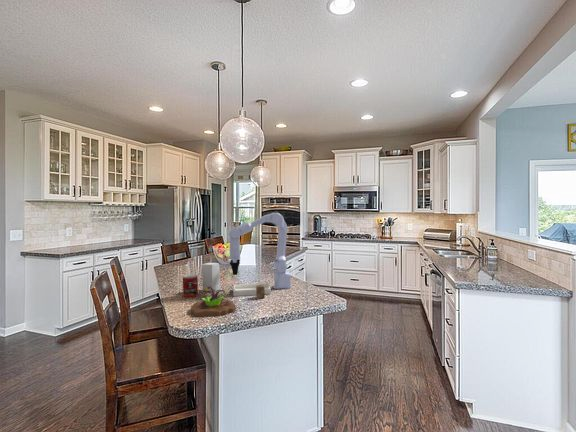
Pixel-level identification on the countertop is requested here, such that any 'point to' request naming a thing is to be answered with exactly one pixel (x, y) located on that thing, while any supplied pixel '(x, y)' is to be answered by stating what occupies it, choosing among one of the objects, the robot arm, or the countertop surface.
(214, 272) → the skincare box
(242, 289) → the tray
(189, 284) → the canned food
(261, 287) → the walnut block
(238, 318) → the countertop surface
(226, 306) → the plant
